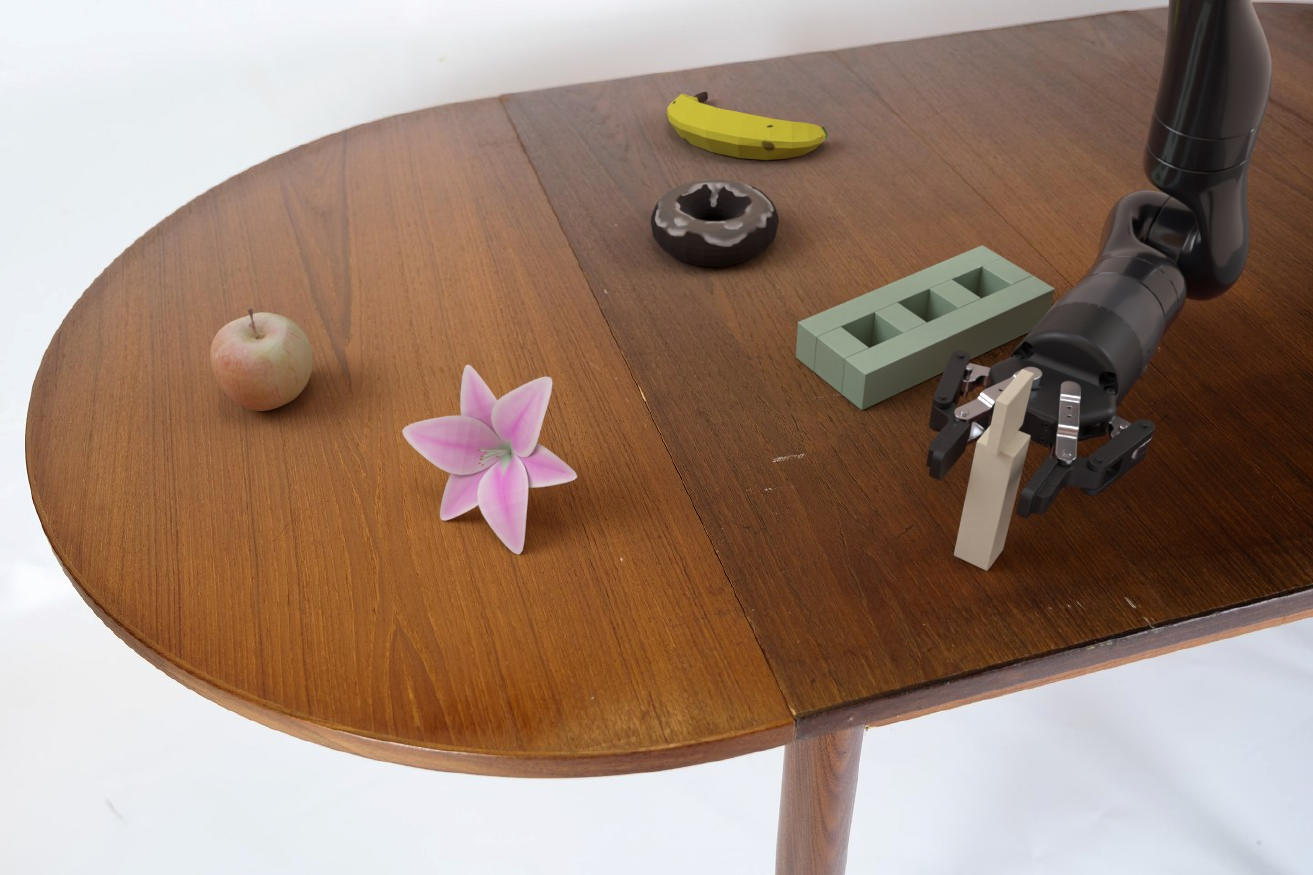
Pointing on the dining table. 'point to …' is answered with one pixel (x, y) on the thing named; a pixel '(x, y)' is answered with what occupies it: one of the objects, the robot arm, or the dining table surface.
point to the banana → (741, 131)
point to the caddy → (921, 325)
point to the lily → (492, 454)
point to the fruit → (261, 360)
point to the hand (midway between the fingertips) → (979, 486)
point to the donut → (714, 222)
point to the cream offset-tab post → (995, 477)
